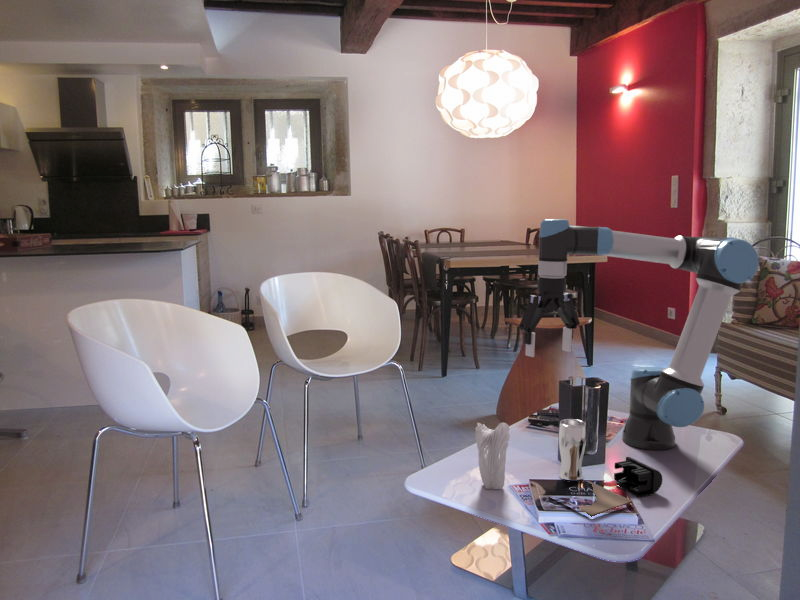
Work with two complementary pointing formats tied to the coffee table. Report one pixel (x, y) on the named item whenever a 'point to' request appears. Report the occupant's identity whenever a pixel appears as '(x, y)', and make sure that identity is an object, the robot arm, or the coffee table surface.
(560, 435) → the beer glass
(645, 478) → the end cap
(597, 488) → the walnut board
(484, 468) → the white ridged vase
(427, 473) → the coffee table surface
